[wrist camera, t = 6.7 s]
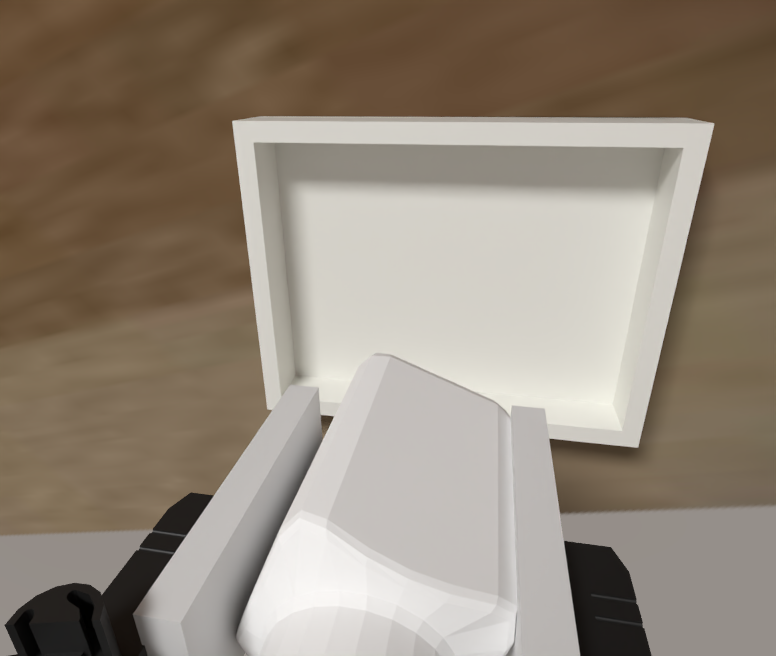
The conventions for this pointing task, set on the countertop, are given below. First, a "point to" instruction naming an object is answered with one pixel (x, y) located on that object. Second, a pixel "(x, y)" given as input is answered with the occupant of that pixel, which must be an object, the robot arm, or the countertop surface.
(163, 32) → the countertop surface
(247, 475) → the robot arm
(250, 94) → the countertop surface
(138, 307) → the countertop surface
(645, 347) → the bin
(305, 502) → the salt shaker
